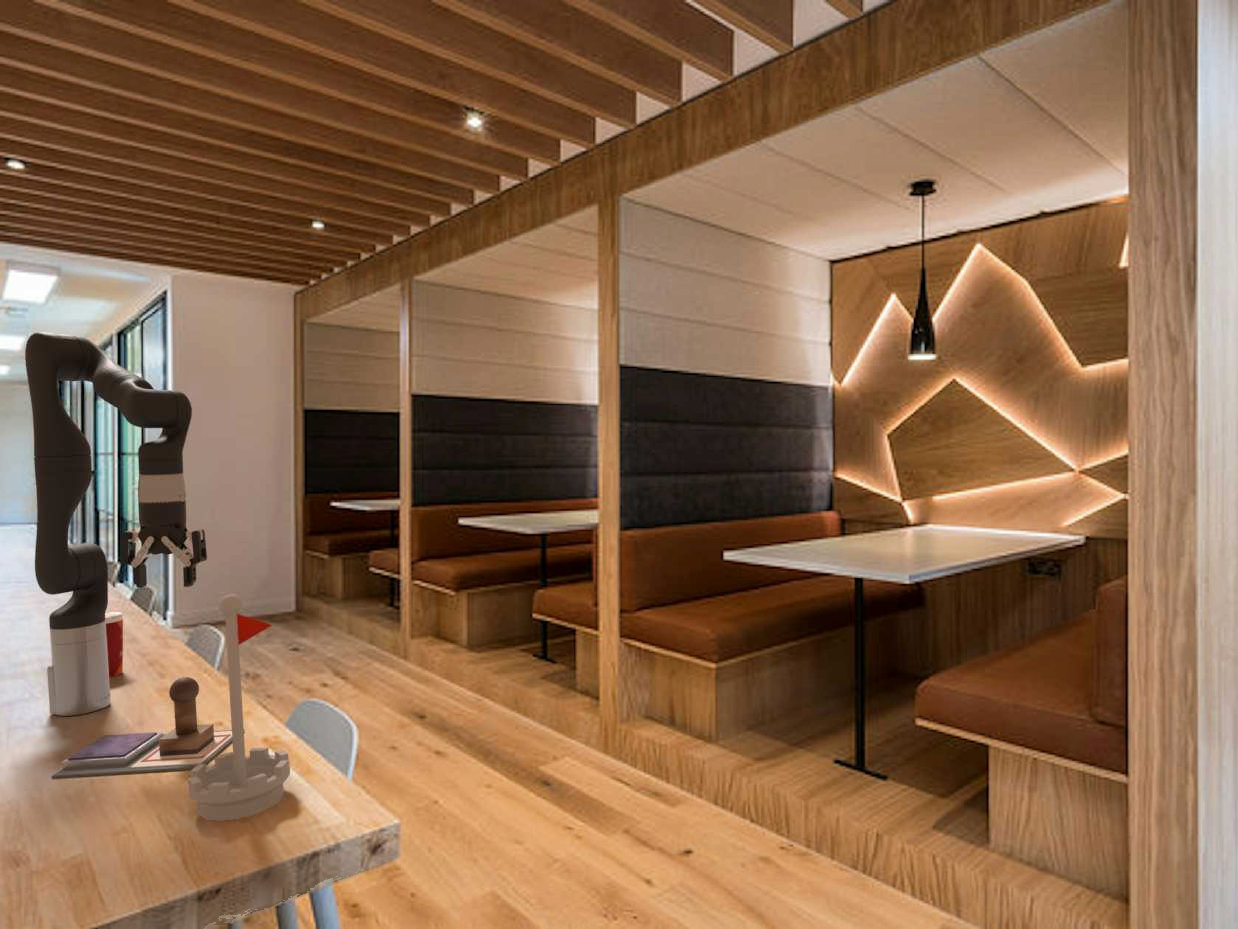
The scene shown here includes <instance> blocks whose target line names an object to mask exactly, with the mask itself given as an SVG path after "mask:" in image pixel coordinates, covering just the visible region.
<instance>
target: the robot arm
mask: <svg viewBox="0 0 1238 929" xmlns="http://www.w3.org/2000/svg"><path fill="white" fill-rule="evenodd" d="M24 357H25V358H24V360H25V371H26V376H27V384H28V390H29V396H30V402H31V412H32V424H33V425H32V426H33V461H34V478H35V485H36V486H35V488H36V491H35V492H36V512H37V513H36V518H37V519H36V534H35V535H36V537H35V551H34V553H35V554H34V572H35V578H36V582H37V584H38V586H39V588H40V590H41V591H42V592H43V593H45V594H47V595H51V596H52V595H59V594H66V593H70V592H72V593H71V594H72V595H71V597H70V598H69V599H68V601H67V602H65V604H63V605H62V606H60V607H58V608H56V609H55V610H54V611H53V612H51V613H50V614H49V619H48V620H49V621H48V622H49V636H50V637H49V638H50V649H51V651H50V652H51V665H48V666H47V668H46V673H47V674H46V675H47V687H48V704H49V715H57V716H61V717H66V716H79V715H83V714H88V713H89V714H90V713H91V712H92V713H93V712H96V711H99V710H102V709H105V708H106V707H108V706H109V705H110V704H111V689H110V688H111V687H110V677H109V668H108V652H107V636H106V621H105V613H107V612H106V611H107V609H108V605H109V590H108V589H109V575H108V574H109V569H108V568H109V567H108V560H107V556H106V554H105V552H104V550H103V549H102V547H100V546H99V545H98V544H97V543H93V542H92V543H90V542H85V543H76V544H70V545H69V531H70V529H69V528H70V524H71V520H72V518H73V515H74V514H75V512H76V510H77V508H78V506H79V505H80V503H81V501H83V500H82V499H83V498H84V496H85V495H86V492H88V490H89V487H90V485H91V482H92V479H93V467H92V450H91V449H92V448H91V445H90V443H89V441H88V439H87V438H86V436H85V435H84V433H83V431H82V430H81V429H80V427H79V426H78V425H77V424H76V422H74V420H73V418H72V417H71V416H70V415H69V413H68V412H67V411H66V409H65V406H64V405H63V403H62V400H61V395H60V391H59V386H58V381H62V382H65V381H66V382H78V381H79V382H80V381H82V382H89V383H92V386H93V390H94V391H95V393H96V395H98V397H99V398H100V399H102V400H103V401H104V402H106V403H108V404H109V405H111V406H113V407H114V408H117V409H118V410H119V412H120V413H121V414H122V416H123V417H124V419H125V420H126V421H127V422H128V423H129V424H130V425H131V426H135V427H137V428H140V429H141V428H142V429H162V430H161V432H160V434H159V437H158V438H157V439H155V440H151V441H148V442H144V443H142V444H140V446H139V447H138V451H137V460H138V462H137V464H138V482H137V483H138V484H137V502H138V509H137V510H138V524H139V527H140V528H139V530H138V531H135V530H134V529H130V530H126V531H123V532H121V536H120V537H121V542H120V547H121V548H120V563H121V564H122V565H128V566H131V567H132V578H133V579H132V580H133V584H134V585H135V587H136V588H138V589H139V588H141V589H142V588H144V587H146V586H147V584H148V583H147V580H148V578H147V565H145V564H146V563H147V562H148V561H149V559H150V558H151V557H152V556H153V555H161V554H163V555H174V556H175V558H176V559H179V560H180V562H181V563H182V564H183V565H184V567H182V568H183V569H182V570H183V587H185V588H190V587H192V586H194V584H195V583H196V582H197V565H198V564H200V563H203V562H206V561H207V560H208V553H207V544H206V543H207V542H206V534H205V533H206V532H205V530H204V529H202V528H200V529H196V530H188V529H187V500H186V498H187V492H186V483H185V477H184V458H183V454H184V453H183V452H184V449H185V448H184V447H185V444H186V440H187V436H188V432H189V428H190V425H191V420H192V417H193V407H192V403H191V401H190V399H189V397H188V396H187V395H186V394H185V393H183V391H180V390H171V389H154V387H153V385H152V384H151V383H150V382H148V381H147V380H146V379H144V378H143V377H141V376H139V375H137V374H135V373H134V372H132V371H130V370H127V369H126V368H124V367H123V366H121V365H119V364H118V363H116V361H115V360H114V359H112V358H111V357H110V356H109V355H107V353H106V352H104V351H103V350H102V349H101V348H100V347H99V346H98V345H97V344H96V343H94V342H92V340H90V339H87V337H84V336H81V335H80V336H79V335H75V334H74V335H73V334H62V333H54V332H41V331H40V332H39V331H38V332H34V333H32V334H31V335H29V337H28V339H27V341H26V344H25V350H24ZM187 539H189V542H191V546H192V549H191V548H190V547H189V546H188V545H187V543H186V541H187ZM138 540H139V541H140V542H141V544H142V546H141V547H140V549H139V550H138V552H136V550H137V549H136V547H137V542H138Z"/></svg>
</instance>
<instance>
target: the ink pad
mask: <svg viewBox="0 0 1238 929" xmlns="http://www.w3.org/2000/svg"><path fill="white" fill-rule="evenodd" d="M162 734H163V731H162V732H157V731H154V732H141V733H140V732H139V733H136V732H135V733H123V734H119V733H118V734H107V735H103V736H101V737H100V738H98V739H96V740H95V741H93V742H92V743H90V744H88V745H86V746H85V747H84V748H82V749H80V750H79V751H76V752H75V753H74V754H72V755H70V756H69V757H68V758H67V757H66V758H65V759H64V760H62V761H61V770H62V769H73V768H89V767H105V766H121V765H127V764H128V763H130V762H131V761H133V760H134V759H135V758H137V757H138V756H140V755H141V754H143V753H144V752H145V751H147V750H148V749H150V748H151V747H152V746H154V745H155V744H157V743H158V742H159V739H160V738H162V737H163V735H162Z"/></svg>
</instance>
